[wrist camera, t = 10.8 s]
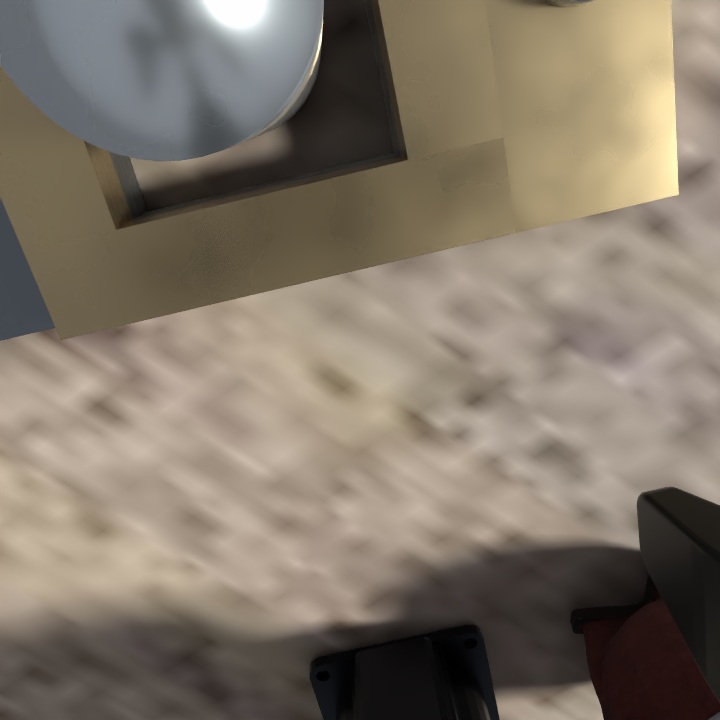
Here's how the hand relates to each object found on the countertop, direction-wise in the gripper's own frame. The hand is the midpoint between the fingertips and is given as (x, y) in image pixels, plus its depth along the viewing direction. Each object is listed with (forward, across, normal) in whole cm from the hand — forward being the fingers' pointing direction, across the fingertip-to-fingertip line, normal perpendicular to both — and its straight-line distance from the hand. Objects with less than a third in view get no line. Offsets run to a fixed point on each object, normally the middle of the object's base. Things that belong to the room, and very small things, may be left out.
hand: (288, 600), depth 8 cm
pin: (+12, 0, -8) cm, 14 cm away
